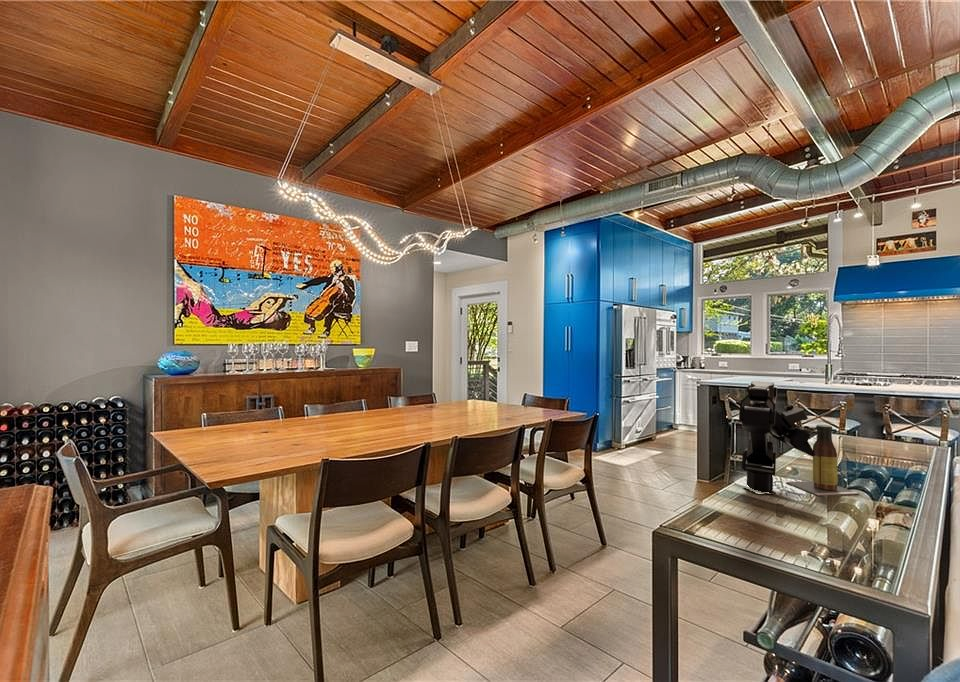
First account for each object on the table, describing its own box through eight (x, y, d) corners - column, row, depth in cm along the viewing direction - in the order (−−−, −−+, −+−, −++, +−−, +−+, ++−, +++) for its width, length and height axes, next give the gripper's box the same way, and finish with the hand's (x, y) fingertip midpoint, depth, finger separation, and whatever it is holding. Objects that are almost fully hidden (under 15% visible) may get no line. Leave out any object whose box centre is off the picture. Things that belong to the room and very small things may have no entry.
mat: (818, 496, 137) (818, 494, 137) (786, 483, 149) (786, 481, 149) (858, 494, 139) (858, 493, 139) (823, 481, 151) (823, 480, 151)
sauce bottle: (841, 489, 142) (843, 426, 142) (831, 492, 139) (832, 428, 139) (817, 483, 148) (819, 423, 148) (807, 486, 145) (809, 424, 145)
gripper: (804, 403, 136) (844, 442, 134) (776, 395, 154) (811, 428, 152) (774, 428, 138) (814, 466, 136) (750, 416, 156) (784, 450, 154)
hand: (806, 451), depth 144 cm, fingers open, 9 cm apart
